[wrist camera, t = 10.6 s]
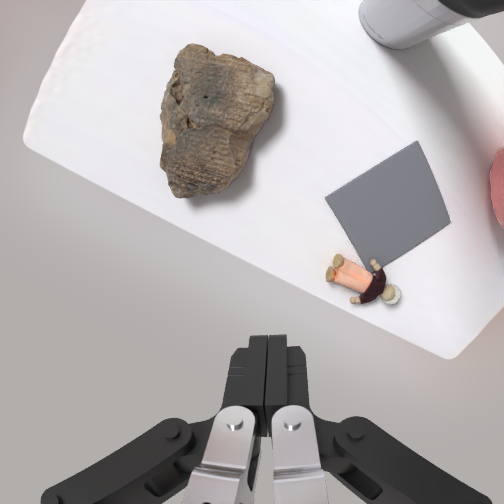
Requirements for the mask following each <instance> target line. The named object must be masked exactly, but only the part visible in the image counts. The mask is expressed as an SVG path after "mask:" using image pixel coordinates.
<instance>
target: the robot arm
mask: <svg viewBox="0 0 504 504" xmlns="http://www.w3.org/2000/svg"><path fill="white" fill-rule="evenodd" d="M502 11H504V0H363V2H362V3H361V5H360V7H359V18H360V21H361V24H362V26H363V27H364V29H365V30H366V32H367V33H368V34H369V35H370V36H371V37H372V38H373V39H374V40H375V41H377V42H378V43H380V44H382V45H384V46H386V47H388V48H392V49H400V50H402V49H407V48H409V47H412V46H414V45H416V44H418V43H420V42H423V41H425V40H427V39H429V38H432V37H434V36H436V35H439V34H441V33H443V32H446V31H448V30H451V29H453V28H455V27H458V26H461V25H463V24H465V23H468V22H471V21H473V20H476V19H479V18H481V17H484V16H487V15H490V14H495V13H498V12H502ZM267 432H268V433H269V437H271V439H272V447H273V464H274V504H329V502H328V495H327V487H326V480H325V475H324V471H328V472H330V473H331V474H332V475H333V476H334V477H335V478H336V479H337V480H339V481H340V482H341V483H342V484H343V485H345V486H346V487H347V488H348V489H349V490H351V491H352V492H353V493H354V494H356V495H357V496H358V497H359V498H360V499H362V500H363V501H364V502H366V503H367V504H492V502H491V500H490V499H489V498H488V497H487V496H485V495H483V494H481V493H479V492H478V491H476V490H475V489H473V488H471V487H469V486H468V485H466V484H464V483H463V482H461V481H459V480H458V479H456V478H454V477H453V476H451V475H450V474H448V473H446V472H445V471H443V470H442V469H440V468H438V467H437V466H435V465H434V464H432V463H431V462H429V461H428V460H426V459H425V458H423V457H422V456H420V455H418V454H417V453H415V452H414V451H412V450H411V449H409V448H408V447H407V446H405V445H404V444H402V443H401V442H399V441H398V440H396V439H395V438H394V437H392V436H391V435H389V434H388V433H386V432H385V431H384V430H382V429H381V428H380V427H378V426H377V425H375V424H374V423H373V422H371V421H370V420H368V419H366V418H364V417H358V416H355V417H350V418H347V419H345V420H343V421H342V422H340V423H336V422H331V421H325V420H323V419H320V418H318V417H317V416H316V415H314V414H313V412H312V411H311V409H310V406H309V394H308V380H307V367H306V357H305V353H304V352H303V350H302V349H301V347H300V346H292V347H287V336H286V334H285V335H269V340H268V335H260V336H259V335H258V336H250V339H249V347H248V348H238V349H237V350H236V351H235V353H234V354H233V355H232V356H231V361H230V366H229V371H228V377H227V382H226V387H225V392H224V398H223V403H222V407H221V409H220V411H219V412H218V413H217V414H216V415H215V416H214V417H213V418H211V419H209V420H206V421H202V422H196V423H191V424H188V423H187V422H185V421H184V420H182V419H179V418H169V419H166V420H163V421H162V422H160V423H159V424H157V425H156V426H154V427H153V428H152V429H150V430H148V431H147V432H145V433H144V434H142V435H141V436H139V437H137V438H136V439H134V440H133V441H131V442H130V443H128V444H126V445H125V446H123V447H122V448H120V449H118V450H117V451H115V452H114V453H112V454H110V455H109V456H107V457H105V458H104V459H102V460H100V461H98V462H97V463H95V464H93V465H91V466H90V467H88V468H86V469H85V470H83V471H81V472H79V473H77V474H76V475H74V476H72V477H70V478H68V479H66V480H64V481H62V482H60V483H58V484H56V485H54V486H52V487H50V488H48V489H47V490H45V492H44V493H43V494H42V496H41V504H162V503H163V502H165V501H166V500H168V499H169V498H171V497H172V496H174V495H175V494H176V493H178V492H179V491H181V490H182V489H184V488H185V487H186V486H187V488H186V492H185V495H184V498H183V501H182V504H254V493H255V486H256V481H257V476H258V470H259V465H260V459H261V448H260V445H261V444H260V443H261V437H267Z"/></svg>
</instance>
